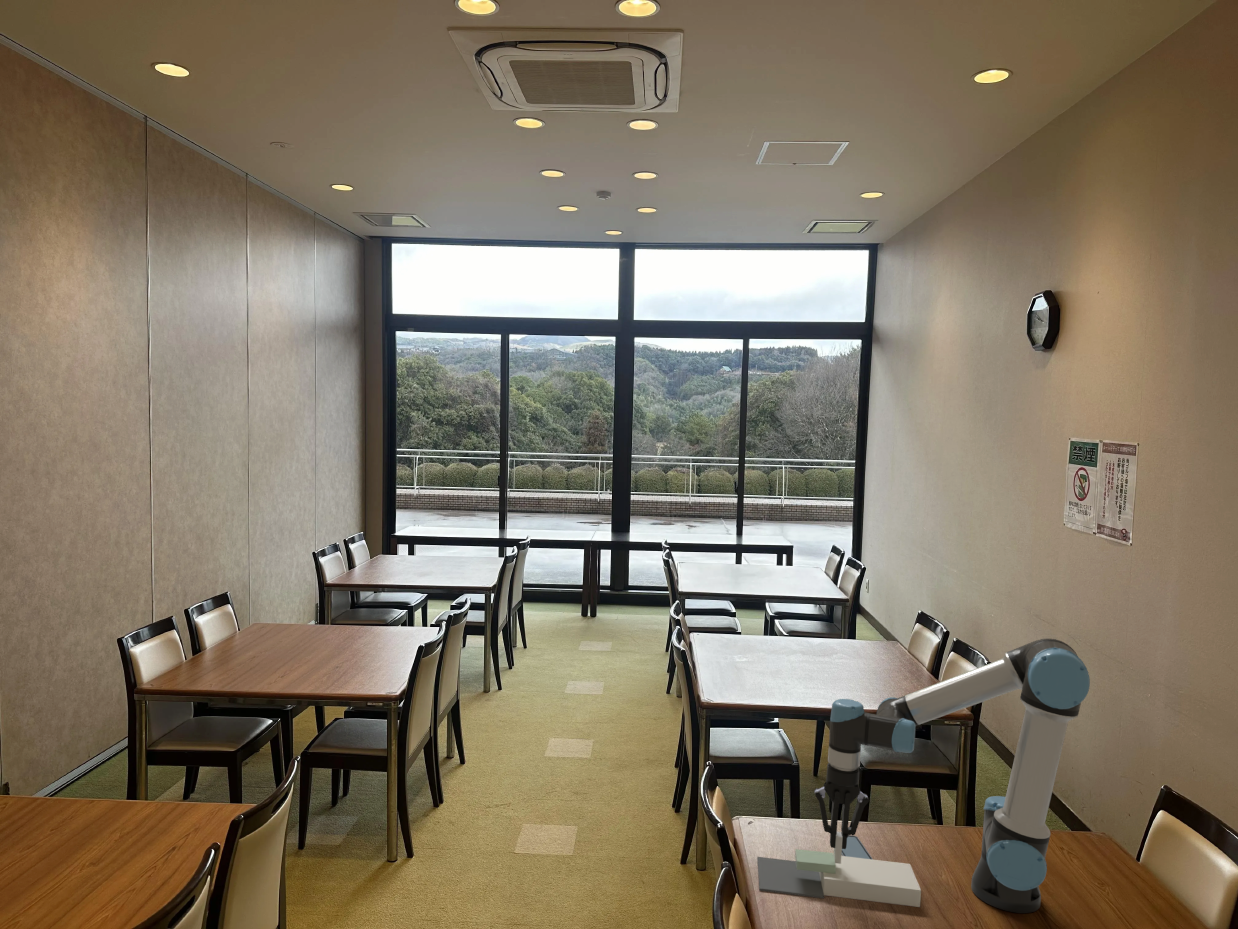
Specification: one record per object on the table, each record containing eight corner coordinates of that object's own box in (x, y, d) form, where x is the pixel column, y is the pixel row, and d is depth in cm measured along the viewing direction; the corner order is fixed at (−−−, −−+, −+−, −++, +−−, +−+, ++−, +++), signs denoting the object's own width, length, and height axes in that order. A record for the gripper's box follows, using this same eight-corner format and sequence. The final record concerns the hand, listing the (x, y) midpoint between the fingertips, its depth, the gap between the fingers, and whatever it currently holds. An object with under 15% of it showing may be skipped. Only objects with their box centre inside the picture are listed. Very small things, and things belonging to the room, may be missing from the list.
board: (908, 879, 202) (909, 864, 202) (919, 907, 190) (921, 890, 190) (818, 868, 205) (818, 853, 205) (823, 895, 193) (824, 878, 193)
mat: (817, 865, 206) (817, 863, 206) (824, 898, 191) (824, 896, 191) (757, 858, 208) (757, 856, 208) (759, 890, 193) (759, 888, 193)
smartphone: (856, 835, 223) (875, 863, 208) (856, 839, 223) (875, 866, 208) (829, 834, 223) (847, 862, 208) (829, 838, 223) (847, 865, 208)
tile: (832, 861, 201) (832, 853, 201) (835, 873, 195) (835, 865, 195) (795, 857, 202) (795, 849, 202) (797, 869, 196) (797, 861, 196)
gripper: (868, 762, 200) (862, 856, 201) (814, 756, 202) (808, 849, 203) (873, 774, 193) (867, 872, 194) (817, 768, 195) (811, 865, 195)
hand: (836, 860), depth 198 cm, fingers closed
